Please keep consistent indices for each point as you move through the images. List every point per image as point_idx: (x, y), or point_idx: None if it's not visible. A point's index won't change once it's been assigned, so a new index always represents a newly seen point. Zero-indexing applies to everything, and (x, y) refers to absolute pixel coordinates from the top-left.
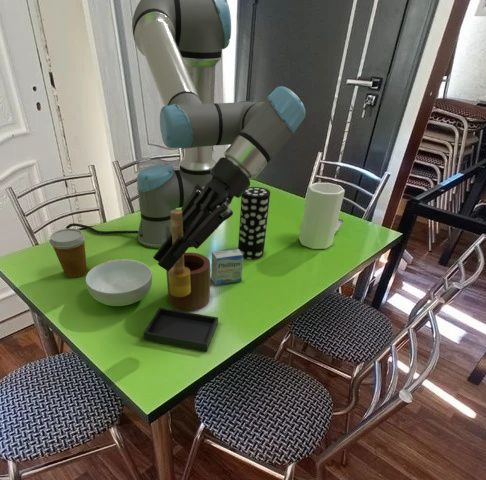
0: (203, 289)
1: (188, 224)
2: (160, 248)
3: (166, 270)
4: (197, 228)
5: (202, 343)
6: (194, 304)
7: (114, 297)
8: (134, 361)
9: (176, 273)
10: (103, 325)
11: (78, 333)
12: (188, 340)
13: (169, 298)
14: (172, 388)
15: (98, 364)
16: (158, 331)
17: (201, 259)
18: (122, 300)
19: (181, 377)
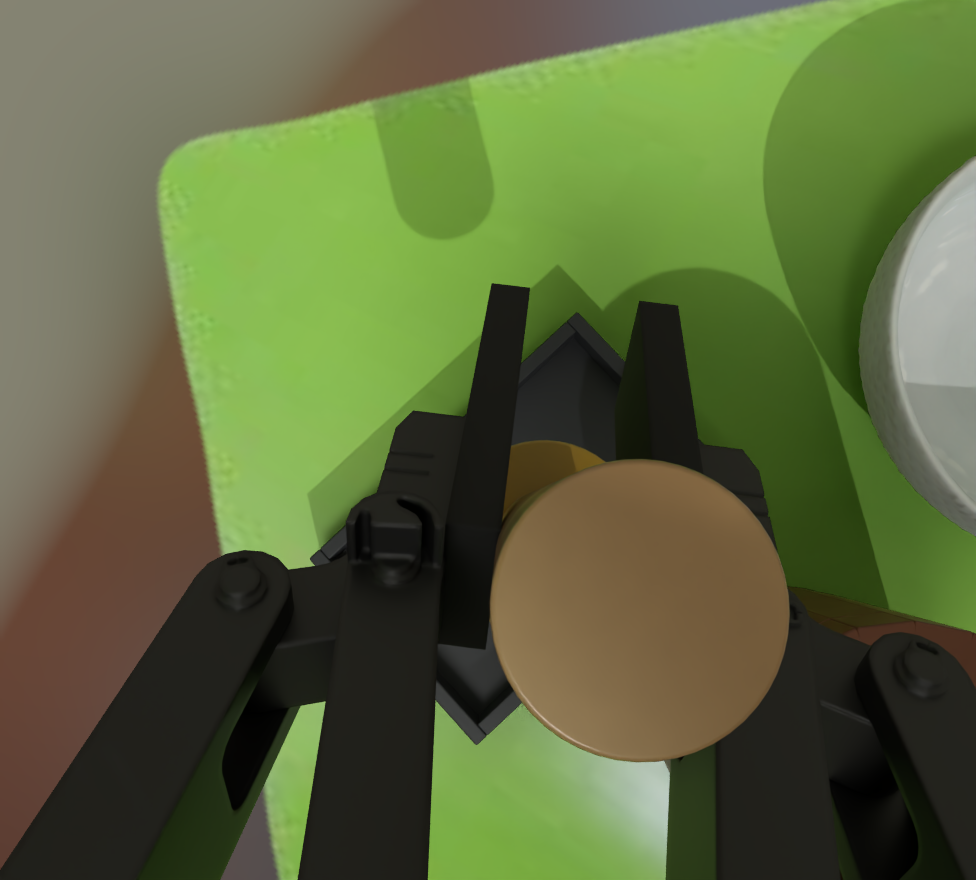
0: None
1: (682, 844)
2: (678, 376)
3: (937, 623)
4: (171, 789)
5: (330, 542)
6: None
7: (898, 237)
8: (451, 220)
9: (520, 496)
10: (795, 184)
11: (795, 56)
12: None
13: (810, 590)
14: (205, 296)
15: (522, 72)
16: (581, 407)
17: None
18: (872, 289)
19: (240, 361)
